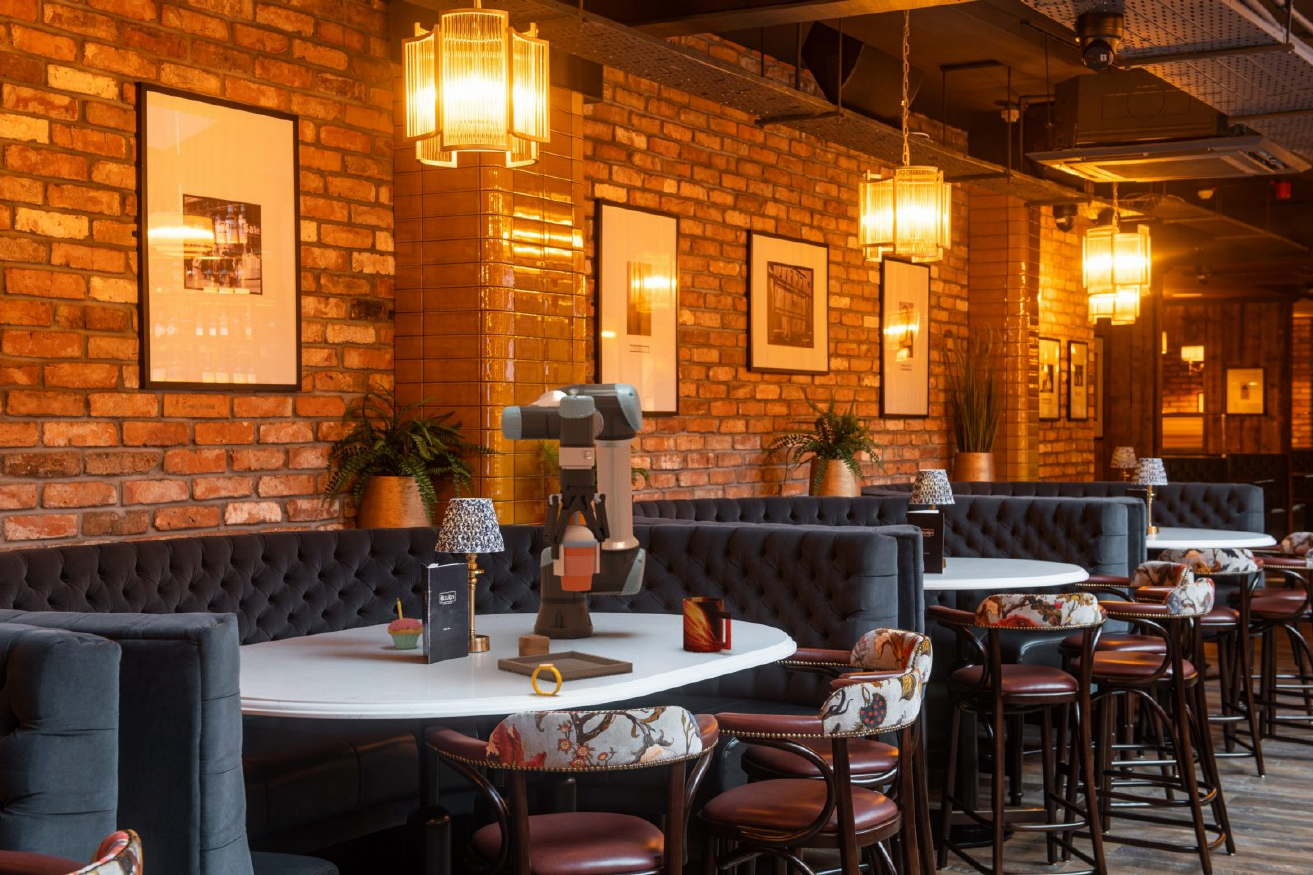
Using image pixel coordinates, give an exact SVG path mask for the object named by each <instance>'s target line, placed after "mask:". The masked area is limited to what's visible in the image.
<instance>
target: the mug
mask: <svg viewBox="0 0 1313 875" xmlns="http://www.w3.org/2000/svg"><path fill="white" fill-rule="evenodd" d="M682 606H683V607H682V608H683V609H682V615H683V616H682V620H683V621H682V650H683V651H684V652H688V653H694V654H697V653H699V654H710V653H712V654H713V653H719V652H720V653H721V652H723V651H731V650H732V612H730V611H726V610H725V609H724V599H723V598H721V597H720V598H719V597H709V596H708V597H705V596H704V597H703V596H700V597H699V596H698V597H697V596H696V597H687V598H683V599H682ZM724 620H725V622H724ZM724 629H725V630H724ZM724 632H725V634H724ZM724 638H725V639H724Z"/></svg>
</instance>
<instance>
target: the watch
mask: <svg viewBox="0 0 1313 875" xmlns="http://www.w3.org/2000/svg"><path fill="white" fill-rule="evenodd" d="M541 669H550V670H551V671H552V672H554V674H555V676H556V678H557V682H556V688H555V689H554V691H553V692H545V691H542V690H541V689H540V687H539V686H538V683H537V678H536V676H537V674H538V672H539V670H541ZM531 685H532V686H531V687H532V688H533V691H535V693H536V694H537V695H538V696H555V695H556V694H557V693H559V691H560V690H561V687H562V679H561V675H560V673H559V671H558V670H557V669H556V668H554V667H553V664H541V665H539V668H537V669H536V670H535V671H534V673H533V675H532V677H531Z"/></svg>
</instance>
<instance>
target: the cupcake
mask: <svg viewBox="0 0 1313 875" xmlns="http://www.w3.org/2000/svg"><path fill="white" fill-rule="evenodd" d="M399 599H400V598H398V597H397V602H396V603H397V610H398V616H399V619H394V620H393V621H392V622H390V624H389V625H388V626H387V633H388V634H389V635H390V636H391V639H392V640H393V644H394V647H395V649H398V650H410V649H415V648H416V646H417V643H418V639H419V638H420V635H421V634H424V631H423V629H424V626H423V627H422V625H423V624H422V623H421V622H420V621H419V620H417V619H416V618H413V617H412V618H409V617H405V618H404V617H403V614H402V613H403V612H402V605H401V601H400V600H399Z"/></svg>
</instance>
